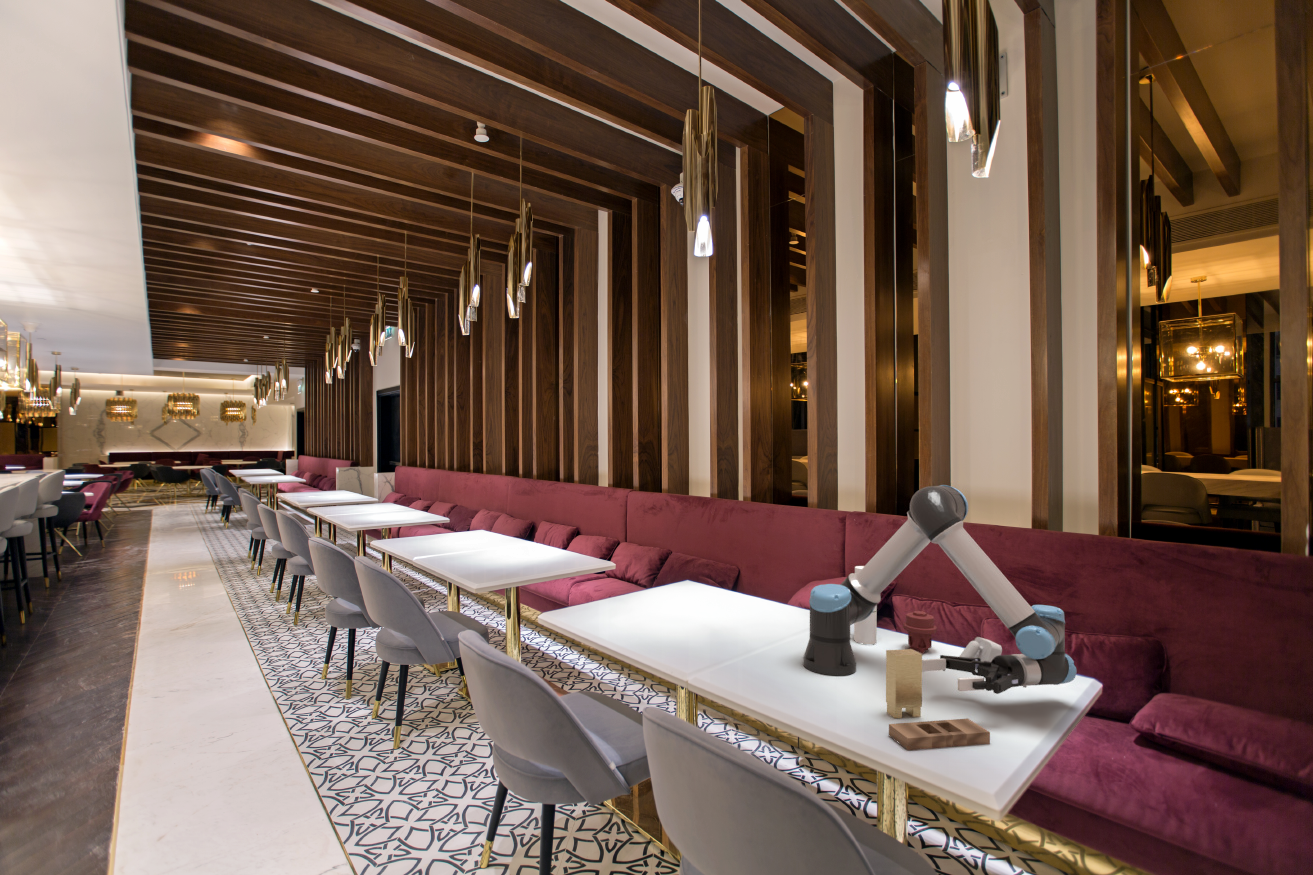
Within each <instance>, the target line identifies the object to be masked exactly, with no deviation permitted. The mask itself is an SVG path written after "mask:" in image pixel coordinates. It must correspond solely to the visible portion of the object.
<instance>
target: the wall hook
mask: <svg viewBox="0 0 1313 875" xmlns="http://www.w3.org/2000/svg"><path fill="white" fill-rule="evenodd" d="M1002 652H1003V648H1002V645H1001V644H998V643H996V642H994V641H993V640H991V639H987V638H983V637H980V636H976V637H975V638H974V640H971V641H969V642H968V644H967V645H966V647H965V648H964V649H963V651H962V652H961V653H960V655H959V656H958V657H967V658H980V659H981V661H982V662H983V661H989V662H991V661H992V660H993V659H994V657H996V656H998V655H1002Z"/></svg>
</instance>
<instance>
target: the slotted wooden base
mask: <svg viewBox="0 0 1313 875" xmlns="http://www.w3.org/2000/svg"><path fill="white" fill-rule="evenodd" d="M889 735H890V736H891V737H893V738H894V739H895V740H896V741H895V740H894V739H893V738H892V739H893V740H894V741H895V742H897V741H898V742H899V743H900V744H901V745H900V744H899V743H898V742H897V743H898V744H899V745H900V746H901V747H903V748H904V747H905V748H906V749H905V748H904V749H905V750H907V751H914V750H915V751H916V750H918V751H919V750H927V749H939V748H940V749H941V748H951V747H953V748H954V746H955V747H965V746H979V745H980V746H981V745H990V744H991V732H990V730H987V729H986V728H984V727H982V726H981V725H979V723H976V722H975V721H973V720H971V719H970V718H953V719H942V720H927V721H915V722H914V721H913V722H912V721H911V722H900V723H888V736H889ZM890 736H889V737H890ZM891 737H890V738H891Z"/></svg>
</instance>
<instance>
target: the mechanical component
mask: <svg viewBox="0 0 1313 875" xmlns="http://www.w3.org/2000/svg"><path fill="white" fill-rule="evenodd" d="M905 617H906V618H905V622H903V624H902V625H903V629H904V630H905V631H907V634H908V635H907V637H908V638H907V639H908V640H907V644H908V646H909V648H908V649H913V650H915V651H917V652H919V653H921V654H922V655H923V654H924V653H925V652H926V651H929V649H931V648H932V646H933V645H932V638H933V637H932V635H934V634H936V633H937V630H938V629H937V628H938V627H937V626H936V625H935V618H934V616H933V615H931V614H928V613H927V612H925V611H922V610H920V611H919V610H914V611H913V612H907V613H906V614H905Z"/></svg>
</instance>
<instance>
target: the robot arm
mask: <svg viewBox="0 0 1313 875" xmlns="http://www.w3.org/2000/svg"><path fill="white" fill-rule="evenodd" d="M968 512H969V502H968V500H967V498H966V496H965V495H964V493H963V492H961V491H960V490H959V489H958V488H955V487H953V486H950V485H946V484H941V485H933V486H930V485H929V486H925V487H922V488H920V489H919V490H918V489H917V491H916V492H915V493H913V495H912V497H911V499H910V502H909V510H908V511H907V512H906V514H907V519H906V521H905V522H904V523H903V524H902V525H901V526H900V527H899V529H897V531H896V532H895V533H894V534H893V535H892V536H891V537H890V538H889V539H888V540H887V542H885V544H884V545H883V546H882V547H880V548H879V550H878V551H877V552H876V553H875V555H874V556H872V558H871V559H870V560H869V561H868V562H867V563H866V564H865V565H863V566H864V567H863V568H862V569H861V571H860V572H859V573H855V572H854V573H853V572H852V573H850V574H848V575H847V577H846V578H845V579H844V580H843V581H842V582H841V583H840V584H836V583H825V584H819V585H816V586H814V587H813V588H812V589H811V591H810V596H809V602H808V604H809V640H808V642H807V645H806V647H805V650H804V654H803V657H802V658H803V661H802V663H803V664H804V665H803V664H802V665H803V666H804V668H806V669H807V670H809V671H811V672H814V673H817V674H820V675H827V676H848V675H852V674H854V673H856V672H857V661H856V658H855V654H854V651H853V648H852V644H851V625H854V623H856V622H859V621H862V620H865V619H866V618H868V617H869V616H870V615H871V613H872V612H873V610H874V608H875V606H876V605H877V606H878V604H879V603H880V602H881V599H882V598H881V593H882V592H883V591H884V590H885V589H886V588H887V587H888V586H890V584H891V583H892V582H893V581H894V580H895V579H896V578H897V577H898V576H899V574H901V573H902V572H903V570H904V569H906V568H907V566H908V565H909V564H910V563H911V562H912V561H913V560H914V559H915V558H916V557H917V556H918V555H919V554H920V553H922V551H923V550H924V549H925V548H926V547H927V546H928V545H929V544H930V542H931V543H932V544H935V545H939V546H938V547H940V549H941V550H942V551H943V552H944V553H945V554H946V555H947V557H948V558H949V559H950V560H951V561H952V563H953V564H954V565H955V566H956V568H958V570H959V571H960V572H961V574H962V575H963V576H964V577H965V579H967V581H968V582H969V584H970V585H971V586H972V587H973V588H974V589H975V591H976V592H977V593H978V594H979V595H980V597H981V599H983V600H984V602H985V603H986V604H987V605H988V606H989V607H990V609H991V610H992V611H993V612H994V614H996V616H997V617H998V619H999V620H1000V621H1001V622H1002V624H1003V625H1004V626H1005V627H1006V628H1007V629H1008V631H1009V632H1010V633H1011V635H1012V636H1013V637H1014V638H1015V644H1016V647H1017V649H1018V650H1019V652H1020V653H1018V654H1017V653H1016V654H1015V653H1013V654H1001V655H998V656H996V657H994V659H993V660H992V661H991V662H989V661H983V662H982V661H981V659H980V658H967V657H959V656H956V655H945V654H940V655H939V658H927V659H925V658H924V659H922V672H934V671H937V672H938V671H943V672H946V670H947V669H948V670H953V671H960V672H965V673H971V675H973V676H977V677H962V678H961V677H959V678H957V691H958V692H968V691H969V692H971V691H985V690H986V691H988V692H991V691H993V694H997V695H999V694H1001V693H1003V692H1005V691H1007V690H1009V689H1012V688H1015V687H1016V688H1017V687H1022V688H1027V686H1046V685H1047V686H1049V685H1050V686H1052V685H1054V686H1058V685H1063V684H1067V683H1071V682H1072V681H1074V680H1075V679H1076V676H1077V666H1075V661H1074V660H1073V658H1072V657H1071V656H1070V655H1069V654H1067V653H1066V651H1065V642H1066V641H1065V637H1066V636H1065V635H1066V634H1065V633H1066V632H1065V627H1066V621H1065V612H1064V610H1062V609H1061V608H1059V607H1057V606H1053V605H1045V604H1033V605H1032V606H1031V605H1030V604H1029V603H1028V602H1027V600H1026V599H1025V598H1024V597H1023V596H1022V594H1021V593H1020V592H1019V591H1018V590H1017V589H1016V588H1015V586H1014V585H1013V584H1012V583H1011V582H1010V581H1009V580H1008V579H1007V577H1006V576H1005V575H1004V574H1003V573H1002V571H1001V570H1000V569H999V568H998V567H997V565H996V564H995V563H994V562H993V561H992V560H991V558H990V557H989V556H988V555H987V554H986V553H985V551H984V550H983V549H982V548H981V547H980V545H979V544H977V542H976V541H975V540H974V538H973V537H971V535H970V534H969V533H968V532H967V530H966V529H965V528H964V520H965V519H966V517H967V516H968ZM976 670H977V671H976Z"/></svg>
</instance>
